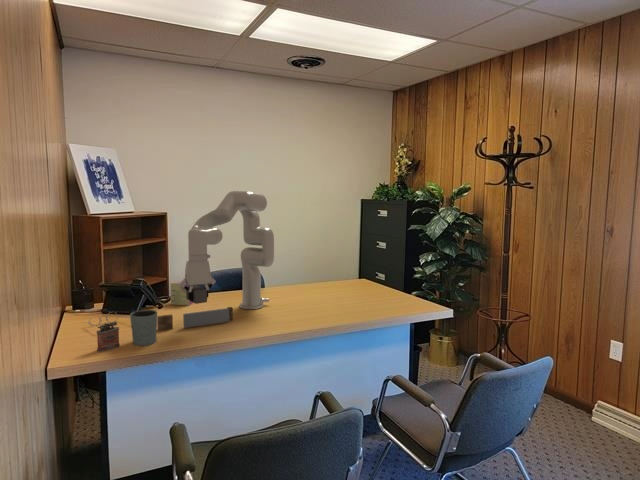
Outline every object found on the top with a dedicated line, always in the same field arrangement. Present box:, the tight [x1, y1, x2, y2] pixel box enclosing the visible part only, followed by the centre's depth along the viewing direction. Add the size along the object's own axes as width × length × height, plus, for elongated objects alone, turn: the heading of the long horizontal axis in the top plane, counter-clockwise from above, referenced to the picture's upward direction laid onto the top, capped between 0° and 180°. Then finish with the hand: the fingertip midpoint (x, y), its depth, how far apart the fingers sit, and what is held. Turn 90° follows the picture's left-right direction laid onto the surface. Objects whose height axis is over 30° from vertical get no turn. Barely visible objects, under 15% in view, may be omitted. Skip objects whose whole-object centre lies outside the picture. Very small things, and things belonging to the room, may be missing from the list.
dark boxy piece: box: [186, 285, 208, 305], centre depth 183 cm, size 5×10×6 cm, turn 39°
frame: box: [157, 306, 234, 332], centre depth 194 cm, size 34×2×6 cm, turn 121°
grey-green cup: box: [129, 309, 158, 347], centre depth 170 cm, size 10×10×12 cm
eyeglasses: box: [87, 311, 130, 329], centre depth 187 cm, size 16×19×5 cm
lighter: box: [96, 321, 121, 352], centre depth 163 cm, size 8×3×10 cm, turn 138°
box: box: [170, 280, 194, 307], centre depth 227 cm, size 10×6×12 cm, turn 84°
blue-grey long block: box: [182, 308, 230, 329], centre depth 194 cm, size 20×3×6 cm, turn 121°
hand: (198, 299), depth 182 cm, fingers closed on dark boxy piece, 5 cm apart
